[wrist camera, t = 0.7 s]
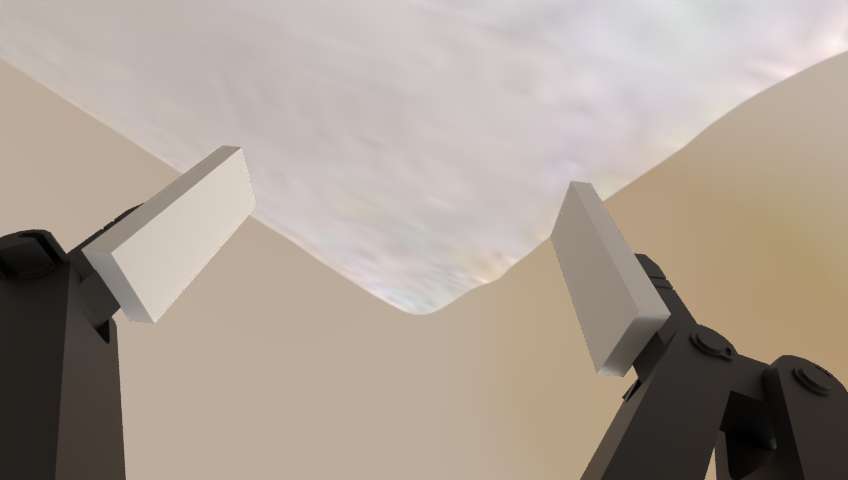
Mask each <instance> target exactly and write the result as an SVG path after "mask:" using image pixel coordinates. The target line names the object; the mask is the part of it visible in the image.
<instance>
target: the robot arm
mask: <svg viewBox="0 0 848 480" xmlns="http://www.w3.org/2000/svg"><path fill="white" fill-rule="evenodd" d="M256 206H257V205H256V201H255V198H254V194H253V190H252V186H251V182H250V178H249V174H248V171H247V167H246V163H245V159H244V155H243V151H242V147H232V146H221V147H220V148H219V149H217V150H216V151H215V152H213V153H212V154H210V155H209V156H208V157H206V158H205V159H204V160H202V161H201V162H200V163H198V164H197V165H195V166H194V167H193V168H191V169H190V170H189V171H187V172H186V173H185V174H183V175H182V176H181V177H179V178H178V179H176V180H175V181H174V182H172V183H171V184H170V185H169V186H167V187H166V188H164V189H163V190H162V191H160V192H159V193H158V194H156V195H155V196H154V197H152V198H151V199H150V200H148V201H147V202H145V203H142V204H140V205H138V206H136V207H133V208H131V209H129V210H127V211H125V212H124V213H123V214H121V215H120V216H118V217H117V218H116V219H115V220H114V222H113V221H112V222H110V223H109V224H107V225H106V226H105V227H104V229H101V230H99V231H98V232H96V233H95V234H94V235H92V236H91V237H89V238H88V239H86V240H85V241H84V242H82V243H81V244H80V245H78V246H77V247H75V248H74V249H73V250H71V251H70V252H69V253H67V254H66V253H65V252H64V251H63V249H62V248H61V246H60V245H59V243H58V242H57V241H56V239H55V238H54V236H53V235H52V234H51V232H48V231H46V230H35V229H34V230H26V231H19V232H16V233H13V234H9V235H6V236H3V237H1V238H0V480H126V477H125V460H124V443H123V426H122V410H121V394H120V376H119V359H118V343H117V327H116V323H115V321H114V320H113V318H112V317H111V316H112V315H113V314H114V313H115V312H116V311H117V310H118V309H119V308H121V309H122V310H123V312H124V313H125V315H126V316H127V318H128V319H129V321H135V322H143V323H152V324H155V323H156V321H158V319H159V318H160V317H161V316H162V315H163V314H164V312H165V311H166V310H167V309H168V308H169V307H170V306H171V304H172V303H173V302H174V301H175V300H176V299H177V297H178V296H179V295H180V294H181V293H182V292H183V291H184V289H185V288H186V287H187V286H188V285H189V284H190V282H191V281H192V280H193V279H194V278H195V277H196V275H197V274H198V273H199V272H200V271H201V270H202V269H203V267H204V266H205V265H206V264H207V263H208V261H209V260H210V259H211V258H212V257H213V256H214V255H215V253H216V252H217V251H218V250H219V249H220V248H221V247H222V245H223V244H224V243H225V242H226V241H227V239H228V238H229V237H230V236H231V235H232V234H233V233H234V232H235V230H236V229H237V228H238V227H239V225H241V223H242V222H243V221H244V220H245V219H246V218H247V216H248V215H249V214H250V213H251V212H252V211H253V210H254V208H255V207H256ZM551 240H552V243H553V246H554V249H555V252H556V255H557V258H558V261H559V263H560V267H561V270H562V272H563V275H564V278H565V281H566V284H567V287H568V290H569V293H570V296H571V299H572V302H573V305H574V308H575V311H576V314H577V317H578V319H579V322H580V325H581V328H582V331H583V334H584V337H585V340H586V343H587V346H588V349H589V352H590V355H591V358H592V361H593V364H594V366H595V370H596V372H597V374H602V375H612V376H620V377H624V376H625V374H626V373H627V371H628V370H629V369H630V368H631V366H632V365H633V366H634V368H635V371H636V373H637V375H638V379H637V380H636V381H635V383H634V384H633V385H632V386H631V387H630V388H629V390H628V391H627V392H626V394H625V395H624V396H623V397H622V398H623V399H624V401H623V403H622V405H621V407H620V409H619V411H618V412H617V414H616V416H615V418H614V420H613V421H612V423H611V425H610V427H609V429H608V430H607V432H606V434H605V436H604V437H603V439H602V441H601V443H600V445H599V447H598V448H597V450H596V452H595V454H594V455H593V458H592V459H591V461H590V463H589V464H588V467H587V468H586V470H585V472H584V473H583V475H582V477H581V479H580V480H704V479H705V476H706V473H707V469H708V466H709V462H710V458H711V455H712V452H713V449H714V448H715V462H716V477H717V480H848V392H847V390H846V389H845V387H844V386H843V385H842V384H841V383H840V382H839V381H838V380H837V379H836V378H835V377H834V376H833V375H832V374H830V373H829V372H828V371H827V370H824V369H823V368H822V367H820V366H819V365H816V364H814V363H812V362H810V361H808V360H806V359H803V358H800V357H796V356H792V355H783V356H781V357H780V358H778V359H777V360H776V361H774V362H773V363H772V364H771V365H768V364H766V363H763V362H760V361H757V360H754V359H751V358H748V357H745V356H742V355H739V354H738V353H737V352H736V350H735V348H734V347H733V345H732V344H731V343H730V342H729V341H728V340H727V339H726V338H724V337H723V336H722V335H720V334H719V333H717V332H716V331H714V330H712V329H710V328H707V327H705V326H703V325H698V324H697V323H696V321H695V320H694V318H693V317H692V315H691V314H690V312H689V311H688V309H687V308H686V307H685V305H684V303H683V302H682V300H681V299H680V297H679V296H678V295H677V293H676V291H675V290H673V287H672V286H671V284H670V283H669V281H668V280H666V277H665V275H664V274H663V272H662V271H661V269H660V268H659V266H658V265H657V264H656V263H654V262H653V261H652V260H651V259H650V258H648V257H647V256H646V255H644V254H635V253H633V252H632V250H631V248H630V246H629V245H628V243H627V242H626V240H625V239H624V237H623V235H622V233H621V232H620V230H619V229H618V227H617V225H616V224H615V222H614V220H613V219H612V218H611V216H610V214H609V212H608V211H607V209H606V208H605V206H604V204H603V203H602V201H601V199H600V198H599V196H598V194H597V193H596V191H595V190H594V188H593V186H592V185H591V183H585V182H575V181H571V182H570V185H569V188H568V190H567V193H566V196H565V199H564V201H563V204H562V207H561V209H560V212H559V215H558V218H557V220H556V223H555V226H554V229H553V231H552V234H551Z"/></svg>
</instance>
